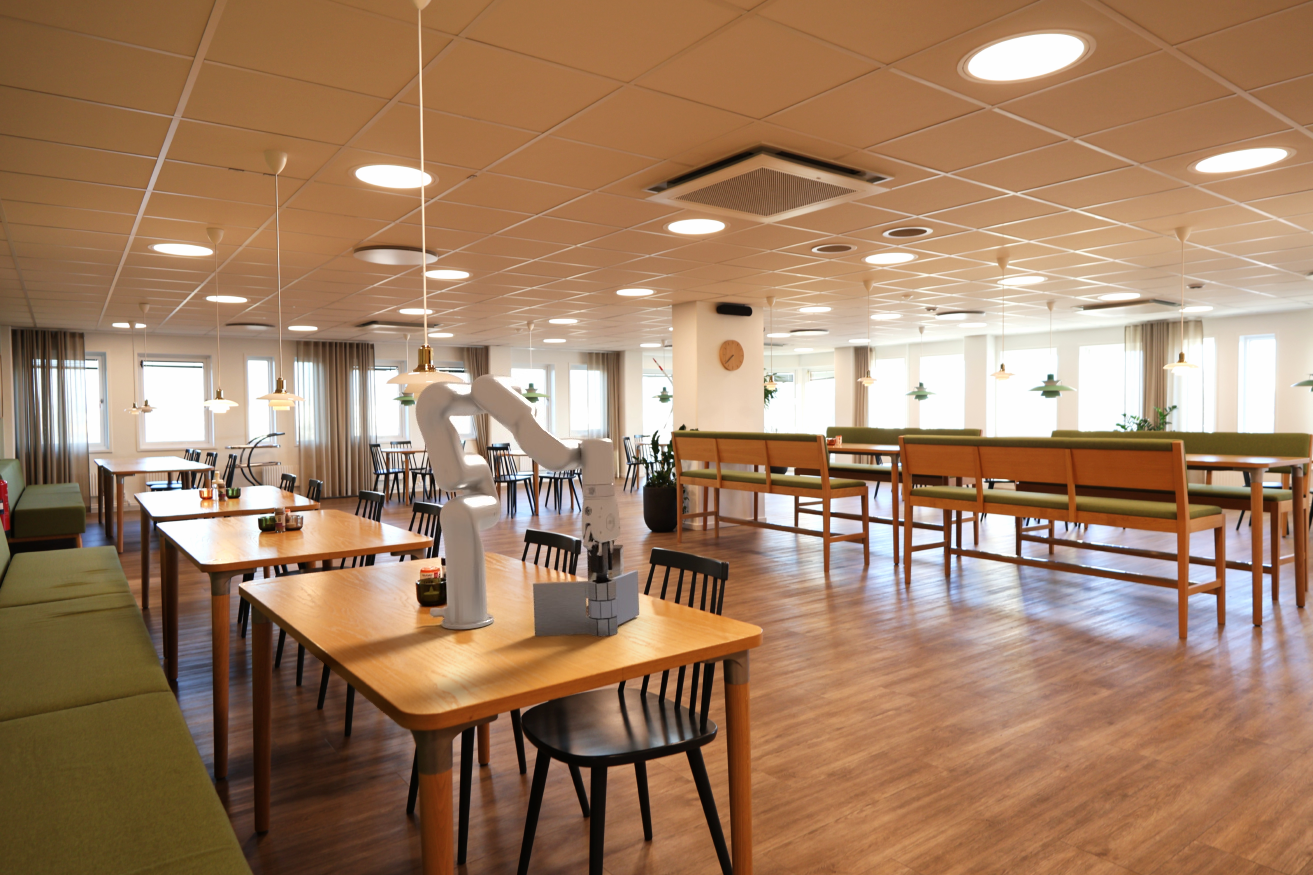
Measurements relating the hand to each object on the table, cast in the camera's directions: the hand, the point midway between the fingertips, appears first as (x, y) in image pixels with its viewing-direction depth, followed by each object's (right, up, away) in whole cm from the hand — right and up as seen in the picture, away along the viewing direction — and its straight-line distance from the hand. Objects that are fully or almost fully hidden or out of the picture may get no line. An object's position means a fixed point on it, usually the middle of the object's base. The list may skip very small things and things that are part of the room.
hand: (601, 570), depth 182 cm
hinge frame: (-6, -15, 0) cm, 16 cm away
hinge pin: (0, -4, 0) cm, 4 cm away
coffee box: (-1, -14, +26) cm, 30 cm away
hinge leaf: (+3, -14, +6) cm, 15 cm away
